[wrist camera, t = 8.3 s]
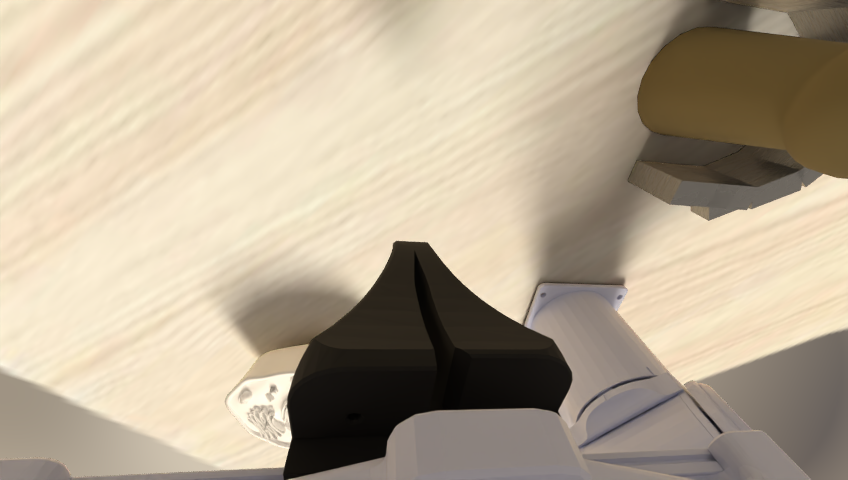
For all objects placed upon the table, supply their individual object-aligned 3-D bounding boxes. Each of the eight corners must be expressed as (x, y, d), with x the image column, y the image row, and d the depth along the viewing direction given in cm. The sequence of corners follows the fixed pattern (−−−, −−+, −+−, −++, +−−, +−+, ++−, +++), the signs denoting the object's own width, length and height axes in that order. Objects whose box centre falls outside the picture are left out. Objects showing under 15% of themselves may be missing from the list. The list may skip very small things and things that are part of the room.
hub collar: (754, 215, 26) (811, 241, 22) (616, 205, 24) (654, 232, 21) (933, -46, 18) (1063, -68, 14) (746, -87, 16) (842, -123, 13)
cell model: (271, 301, 26) (237, 375, 20) (404, 346, 30) (409, 419, 24) (234, 378, 30) (196, 459, 24) (356, 408, 34) (349, 484, 28)
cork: (714, -1, 18) (1079, -56, 8) (750, 80, 20) (1065, 109, 11) (619, 88, 20) (830, 125, 10) (663, 153, 22) (865, 231, 13)
